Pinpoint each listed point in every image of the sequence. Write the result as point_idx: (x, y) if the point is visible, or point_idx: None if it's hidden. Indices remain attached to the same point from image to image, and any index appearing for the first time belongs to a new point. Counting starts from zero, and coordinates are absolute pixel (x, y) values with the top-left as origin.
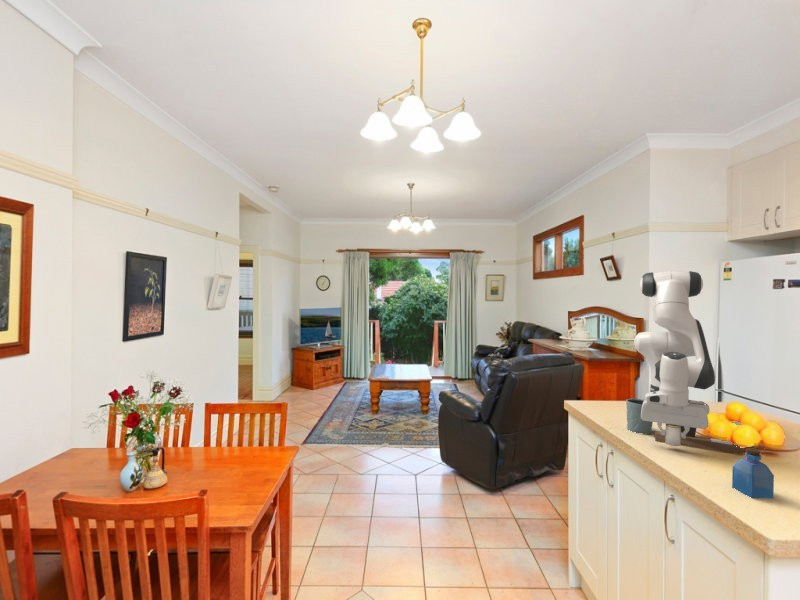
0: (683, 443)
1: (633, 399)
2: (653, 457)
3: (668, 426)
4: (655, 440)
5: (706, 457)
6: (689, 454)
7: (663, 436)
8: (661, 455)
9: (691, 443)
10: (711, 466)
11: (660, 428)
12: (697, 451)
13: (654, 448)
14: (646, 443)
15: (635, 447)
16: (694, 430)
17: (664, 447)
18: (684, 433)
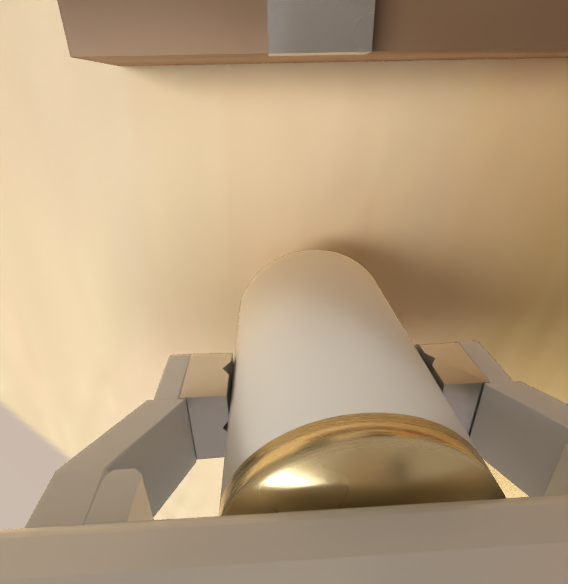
0: (451, 57)
1: None
2: (180, 518)
3: None
4: (119, 65)
5: (541, 338)
6: (425, 340)
7: (205, 59)
8: (223, 465)
9: (553, 54)
10: (498, 481)
11: (151, 495)
12: (528, 210)
13: (158, 349)
14: (60, 240)
15: (21, 409)
16: None
17: (235, 269)
18: (483, 454)
